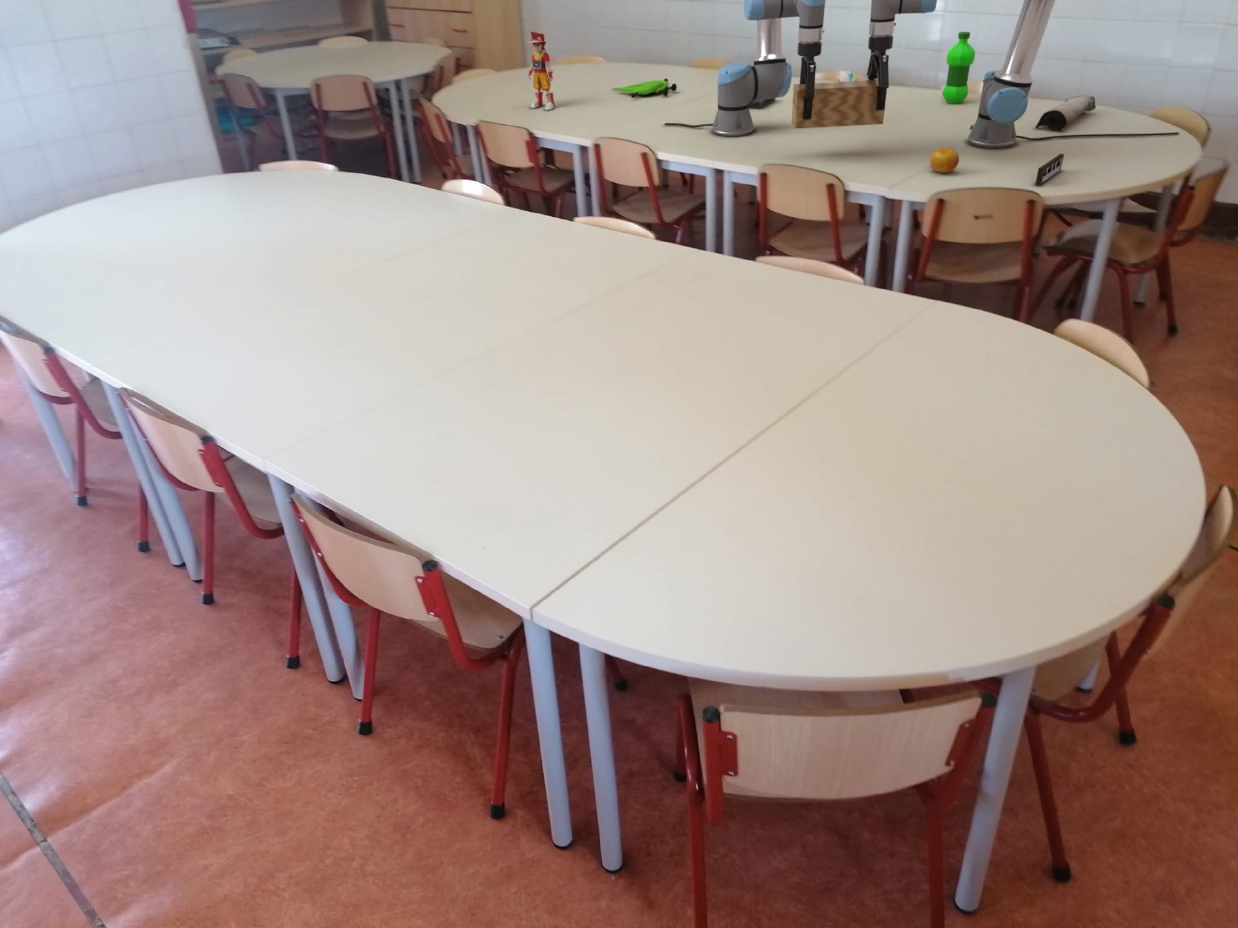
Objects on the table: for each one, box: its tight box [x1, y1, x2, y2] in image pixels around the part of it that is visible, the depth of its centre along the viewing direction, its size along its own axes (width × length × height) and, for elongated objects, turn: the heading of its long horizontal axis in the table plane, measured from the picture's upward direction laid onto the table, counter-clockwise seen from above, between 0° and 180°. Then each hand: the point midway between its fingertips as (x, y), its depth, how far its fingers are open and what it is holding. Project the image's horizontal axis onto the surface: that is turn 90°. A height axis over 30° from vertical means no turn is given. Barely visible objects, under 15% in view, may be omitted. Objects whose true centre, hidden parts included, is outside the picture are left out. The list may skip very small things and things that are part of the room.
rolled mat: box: [1035, 94, 1097, 132], centre depth 323 cm, size 30×9×10 cm
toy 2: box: [612, 78, 677, 99], centre depth 396 cm, size 28×5×30 cm
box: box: [791, 79, 888, 130], centre depth 297 cm, size 29×8×12 cm, turn 89°
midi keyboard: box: [1035, 153, 1065, 186], centre depth 273 cm, size 18×1×5 cm, turn 138°
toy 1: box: [527, 31, 556, 111], centre depth 374 cm, size 12×9×30 cm
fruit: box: [929, 147, 960, 174], centre depth 283 cm, size 8×8×8 cm
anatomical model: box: [837, 70, 858, 82], centre depth 370 cm, size 15×10×10 cm
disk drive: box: [749, 98, 776, 109], centre depth 368 cm, size 10×3×15 cm
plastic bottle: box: [942, 31, 976, 104], centre depth 348 cm, size 10×10×25 cm
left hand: (804, 115), depth 299 cm, fingers closed on box, 8 cm apart
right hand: (875, 105), depth 297 cm, fingers open, 13 cm apart
